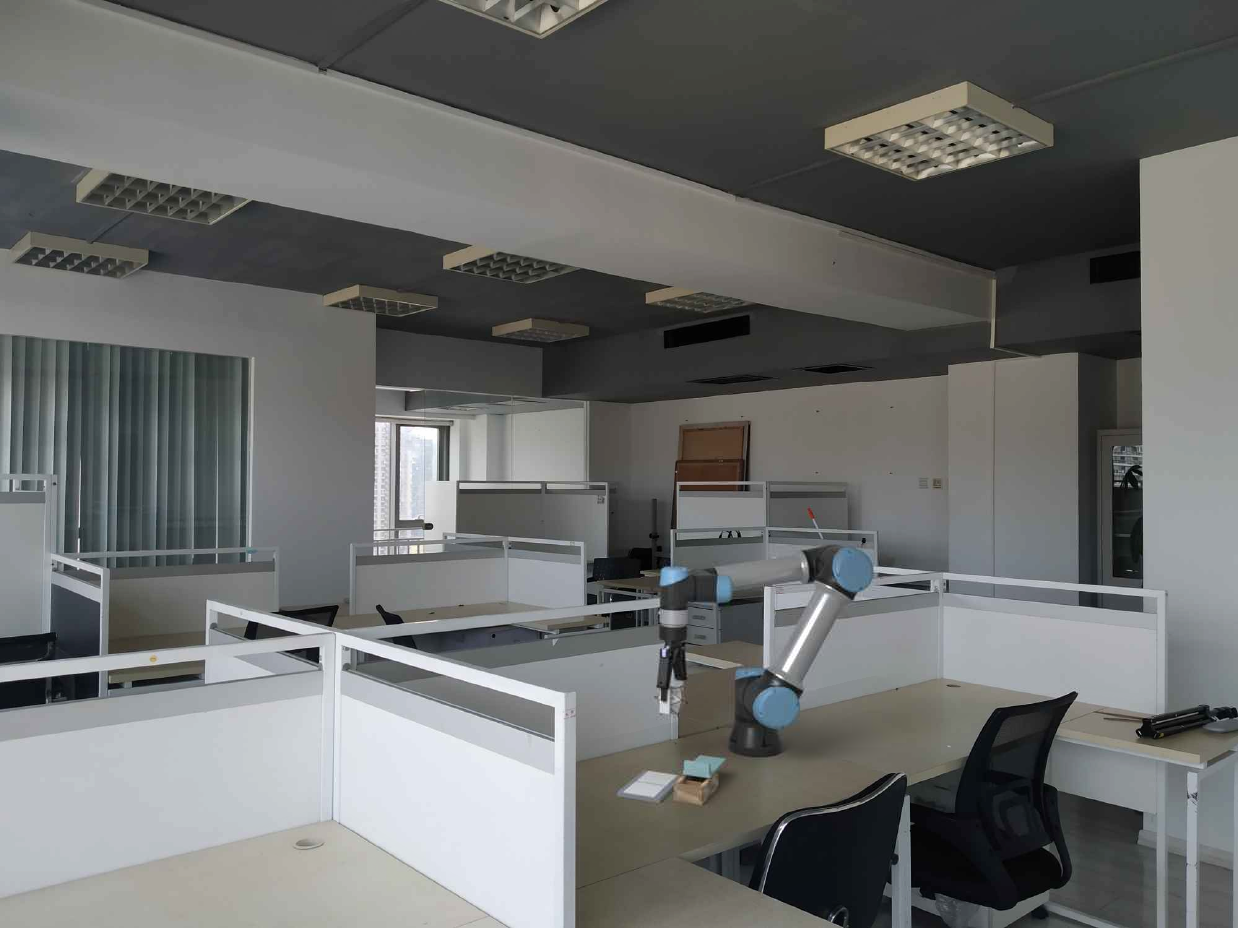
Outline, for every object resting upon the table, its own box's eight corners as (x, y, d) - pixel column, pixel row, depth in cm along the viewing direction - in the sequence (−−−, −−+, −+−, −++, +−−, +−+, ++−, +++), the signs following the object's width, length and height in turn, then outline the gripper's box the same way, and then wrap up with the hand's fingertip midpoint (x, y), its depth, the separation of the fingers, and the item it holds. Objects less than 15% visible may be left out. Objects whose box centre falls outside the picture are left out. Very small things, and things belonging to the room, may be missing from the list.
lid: (699, 758, 234) (700, 745, 234) (725, 761, 232) (726, 749, 232) (682, 774, 221) (683, 761, 221) (710, 778, 219) (710, 764, 219)
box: (691, 782, 228) (692, 766, 228) (718, 786, 225) (718, 770, 225) (673, 800, 215) (673, 783, 215) (701, 804, 212) (701, 787, 213)
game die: (671, 730, 238) (666, 706, 232) (651, 713, 244) (645, 688, 238) (697, 711, 241) (691, 686, 236) (676, 694, 247) (671, 669, 242)
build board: (643, 773, 234) (643, 769, 234) (683, 779, 230) (683, 775, 230) (617, 796, 218) (617, 791, 218) (659, 802, 213) (659, 797, 213)
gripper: (674, 618, 252) (672, 698, 251) (644, 629, 232) (643, 716, 231) (699, 620, 249) (698, 701, 248) (672, 631, 229) (670, 720, 228)
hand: (671, 708), depth 240 cm, fingers closed on game die, 9 cm apart
